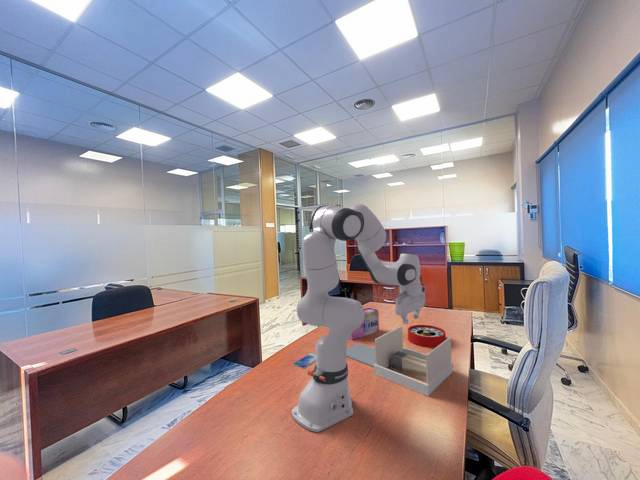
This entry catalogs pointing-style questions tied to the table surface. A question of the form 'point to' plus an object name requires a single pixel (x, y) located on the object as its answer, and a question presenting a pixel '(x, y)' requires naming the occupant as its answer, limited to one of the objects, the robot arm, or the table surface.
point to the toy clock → (426, 335)
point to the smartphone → (306, 361)
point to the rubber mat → (361, 354)
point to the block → (409, 364)
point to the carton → (435, 359)
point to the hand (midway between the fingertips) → (411, 321)
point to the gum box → (367, 324)
